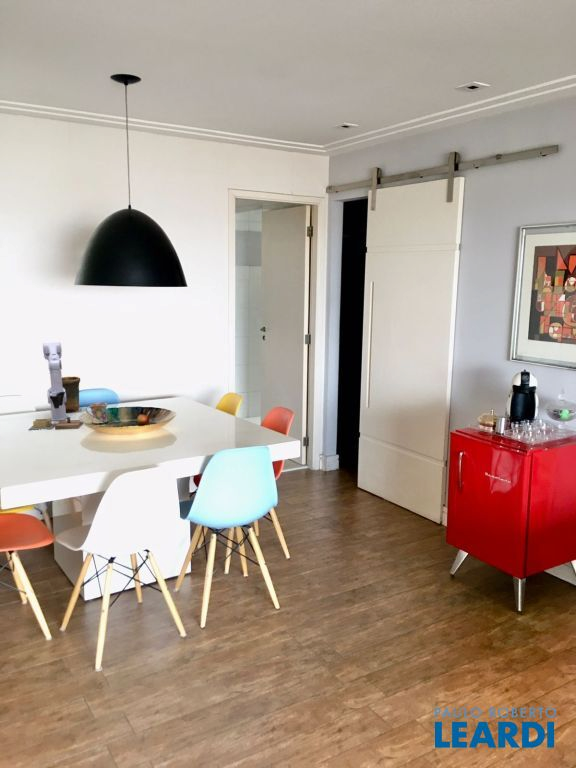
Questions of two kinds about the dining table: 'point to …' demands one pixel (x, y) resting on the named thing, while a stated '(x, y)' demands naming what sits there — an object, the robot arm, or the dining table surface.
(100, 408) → the mug
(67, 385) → the vessel
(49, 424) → the u link
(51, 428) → the mat
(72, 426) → the peg stand
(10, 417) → the dining table surface
